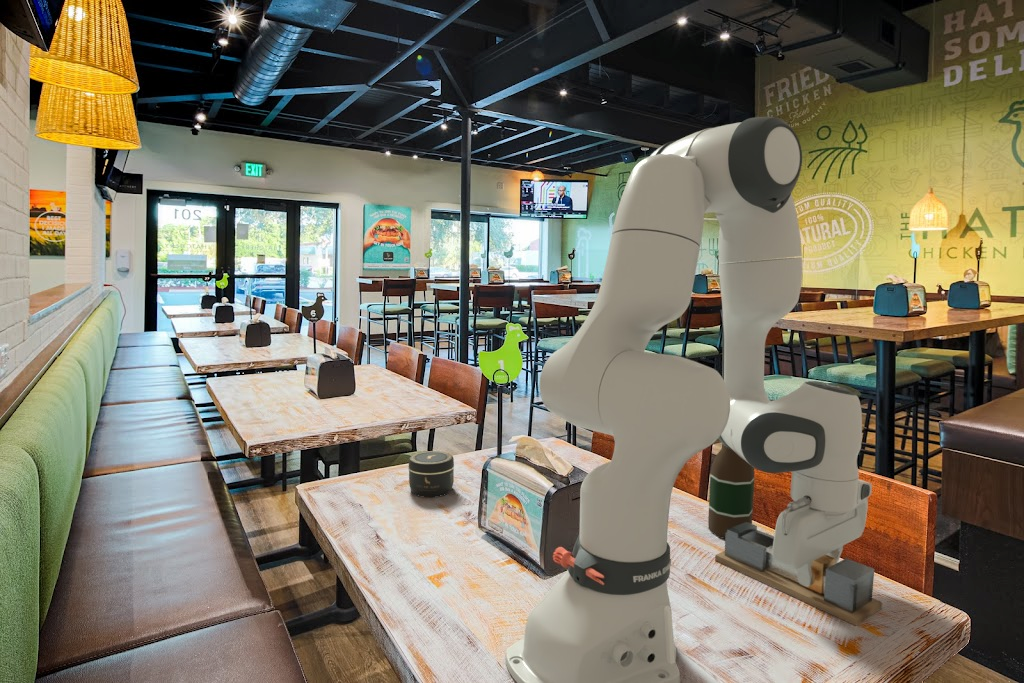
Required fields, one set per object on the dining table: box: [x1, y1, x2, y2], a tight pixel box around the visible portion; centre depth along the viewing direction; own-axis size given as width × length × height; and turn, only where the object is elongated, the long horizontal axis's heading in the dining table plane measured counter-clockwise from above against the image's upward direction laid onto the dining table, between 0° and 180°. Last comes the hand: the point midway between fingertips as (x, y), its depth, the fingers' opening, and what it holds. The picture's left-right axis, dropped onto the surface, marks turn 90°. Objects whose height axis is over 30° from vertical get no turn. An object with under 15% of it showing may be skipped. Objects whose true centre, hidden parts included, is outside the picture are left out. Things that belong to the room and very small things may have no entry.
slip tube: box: [765, 546, 835, 594], centre depth 93 cm, size 3×14×5 cm, turn 35°
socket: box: [824, 557, 875, 613], centre depth 88 cm, size 6×4×5 cm
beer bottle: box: [707, 443, 755, 539], centre depth 112 cm, size 8×8×24 cm
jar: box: [407, 450, 455, 498], centre depth 134 cm, size 10×10×8 cm
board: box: [714, 550, 883, 626], centre depth 95 cm, size 8×23×1 cm, turn 35°
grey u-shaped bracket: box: [724, 522, 774, 572], centre depth 101 cm, size 5×7×5 cm
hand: (817, 577), depth 92 cm, fingers open, 5 cm apart
